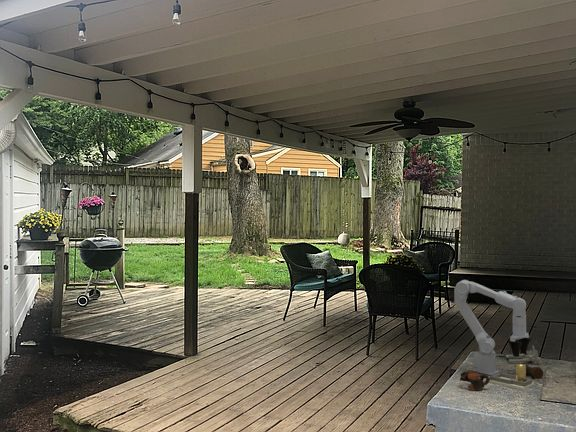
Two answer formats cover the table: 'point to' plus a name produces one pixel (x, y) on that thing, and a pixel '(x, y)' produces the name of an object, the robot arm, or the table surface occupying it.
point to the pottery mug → (474, 380)
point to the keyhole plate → (510, 381)
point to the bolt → (534, 371)
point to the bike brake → (529, 356)
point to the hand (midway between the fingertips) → (519, 355)
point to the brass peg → (520, 372)
